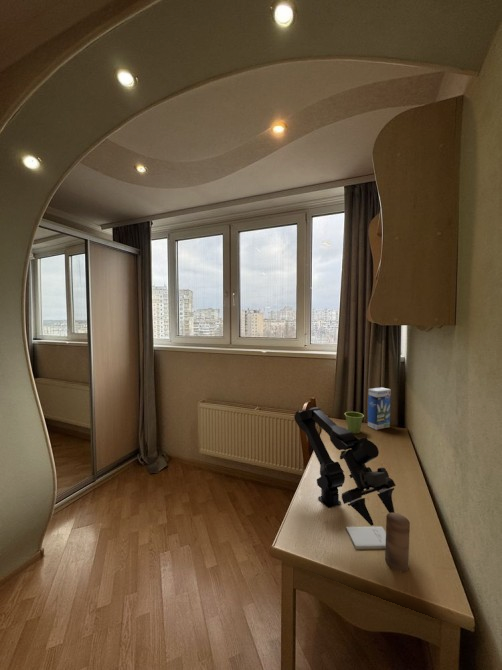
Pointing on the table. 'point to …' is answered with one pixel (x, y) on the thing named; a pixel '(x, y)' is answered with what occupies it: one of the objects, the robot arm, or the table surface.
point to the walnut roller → (397, 542)
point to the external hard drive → (367, 537)
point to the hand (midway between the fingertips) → (383, 520)
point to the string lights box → (379, 408)
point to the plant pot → (354, 421)
